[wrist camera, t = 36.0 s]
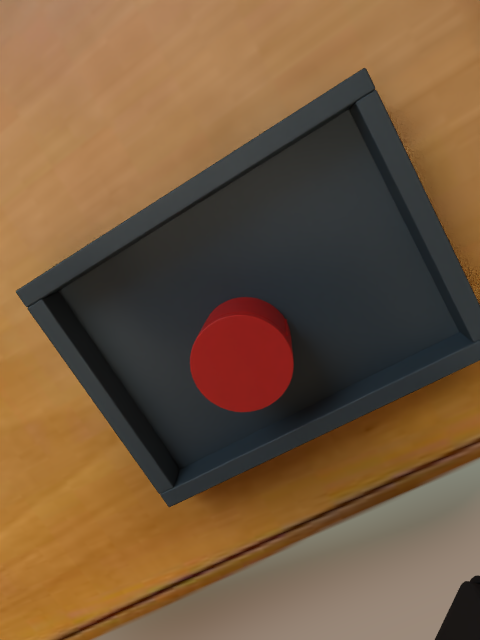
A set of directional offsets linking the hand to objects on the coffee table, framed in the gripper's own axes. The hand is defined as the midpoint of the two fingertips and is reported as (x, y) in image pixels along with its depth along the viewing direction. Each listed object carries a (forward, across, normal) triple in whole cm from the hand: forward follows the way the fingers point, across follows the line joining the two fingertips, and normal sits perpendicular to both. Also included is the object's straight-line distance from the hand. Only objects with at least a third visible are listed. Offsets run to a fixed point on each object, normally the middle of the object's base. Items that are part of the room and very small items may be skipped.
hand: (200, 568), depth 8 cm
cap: (+12, 0, -1) cm, 12 cm away
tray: (+12, 0, -2) cm, 13 cm away
